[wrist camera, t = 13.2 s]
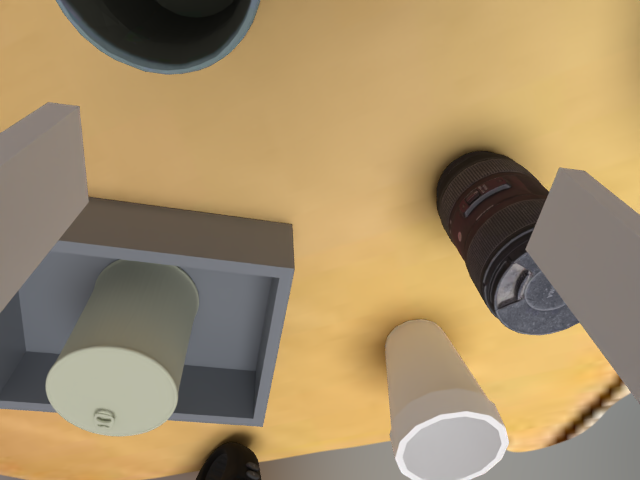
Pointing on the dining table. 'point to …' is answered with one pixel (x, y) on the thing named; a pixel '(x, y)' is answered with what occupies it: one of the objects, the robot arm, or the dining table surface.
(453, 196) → the camera lens
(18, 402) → the box
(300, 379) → the dining table surface
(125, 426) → the can
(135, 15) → the blue-grey textured cup
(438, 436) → the foam cup
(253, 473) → the controller
